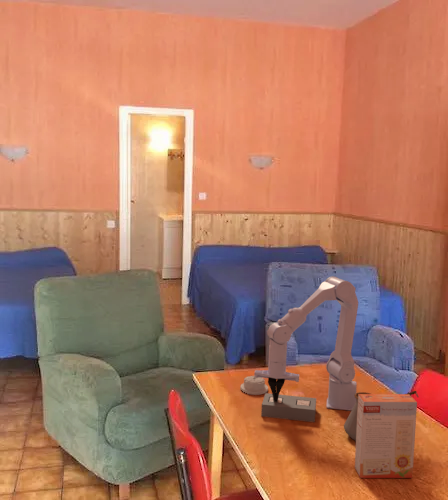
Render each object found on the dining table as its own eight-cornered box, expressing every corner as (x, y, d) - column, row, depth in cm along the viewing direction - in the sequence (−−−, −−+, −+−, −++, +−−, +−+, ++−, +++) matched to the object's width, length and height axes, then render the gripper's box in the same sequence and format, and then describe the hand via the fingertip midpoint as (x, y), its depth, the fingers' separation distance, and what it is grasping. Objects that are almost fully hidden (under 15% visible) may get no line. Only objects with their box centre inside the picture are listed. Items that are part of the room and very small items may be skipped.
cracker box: (404, 467, 153) (410, 393, 150) (412, 479, 147) (418, 402, 144) (353, 467, 153) (357, 392, 150) (359, 478, 147) (364, 401, 144)
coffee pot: (347, 445, 165) (350, 395, 163) (340, 428, 176) (342, 381, 174) (421, 448, 165) (425, 398, 163) (409, 430, 176) (412, 384, 174)
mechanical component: (240, 395, 201) (268, 396, 201) (240, 383, 201) (269, 384, 201) (240, 384, 211) (267, 385, 211) (240, 373, 211) (267, 374, 210)
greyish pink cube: (281, 408, 189) (282, 398, 189) (280, 413, 185) (281, 402, 185) (269, 407, 190) (270, 397, 189) (268, 412, 186) (269, 401, 185)
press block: (315, 409, 190) (316, 398, 189) (314, 422, 180) (315, 410, 180) (265, 404, 193) (265, 393, 193) (261, 416, 183) (261, 404, 183)
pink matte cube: (309, 411, 187) (309, 401, 187) (308, 416, 183) (309, 405, 183) (297, 410, 188) (297, 399, 188) (296, 415, 184) (296, 404, 184)
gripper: (300, 358, 188) (298, 397, 189) (257, 354, 190) (255, 393, 192) (299, 365, 181) (297, 405, 183) (254, 360, 184) (252, 401, 185)
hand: (275, 400), depth 187 cm, fingers closed, pressing on greyish pink cube
